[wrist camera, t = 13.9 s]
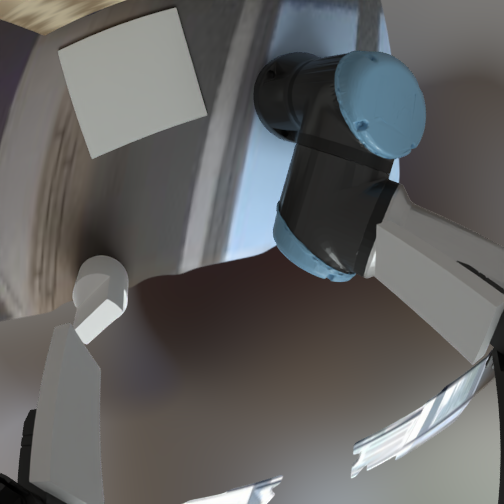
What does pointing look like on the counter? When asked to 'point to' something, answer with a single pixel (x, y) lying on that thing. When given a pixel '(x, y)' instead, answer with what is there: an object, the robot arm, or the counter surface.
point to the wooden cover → (48, 12)
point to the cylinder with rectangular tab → (99, 295)
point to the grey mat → (132, 81)
